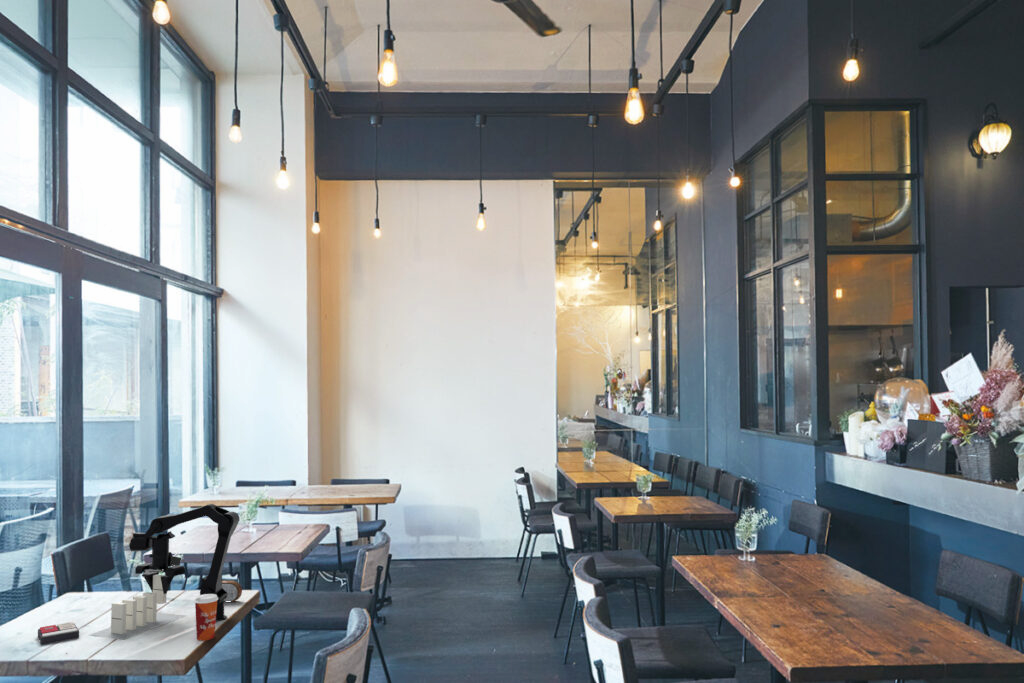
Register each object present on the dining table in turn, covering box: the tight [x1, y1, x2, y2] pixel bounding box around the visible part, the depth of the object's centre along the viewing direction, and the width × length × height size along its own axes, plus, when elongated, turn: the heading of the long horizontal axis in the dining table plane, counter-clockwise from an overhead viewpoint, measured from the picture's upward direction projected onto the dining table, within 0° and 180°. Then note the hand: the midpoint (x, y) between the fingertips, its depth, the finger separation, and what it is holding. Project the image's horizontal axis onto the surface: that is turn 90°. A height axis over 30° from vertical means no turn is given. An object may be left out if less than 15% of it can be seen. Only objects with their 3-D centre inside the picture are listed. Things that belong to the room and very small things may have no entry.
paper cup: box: [193, 594, 218, 642], centre depth 249 cm, size 8×8×14 cm
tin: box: [222, 579, 243, 603], centre depth 294 cm, size 15×3×8 cm, turn 84°
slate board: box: [89, 612, 186, 641], centre depth 261 cm, size 28×16×1 cm, turn 161°
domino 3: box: [132, 595, 147, 626], centre depth 261 cm, size 2×5×10 cm, turn 71°
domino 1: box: [110, 601, 126, 634], centre depth 253 cm, size 2×5×10 cm, turn 71°
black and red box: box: [37, 621, 80, 646], centre depth 250 cm, size 11×4×15 cm
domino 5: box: [152, 574, 168, 605], centre depth 270 cm, size 2×5×10 cm, turn 71°
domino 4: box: [142, 591, 158, 622], centre depth 266 cm, size 2×5×10 cm, turn 71°
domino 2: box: [121, 598, 137, 630], centre depth 257 cm, size 2×5×10 cm, turn 71°
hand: (159, 593), depth 270 cm, fingers closed on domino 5, 5 cm apart
